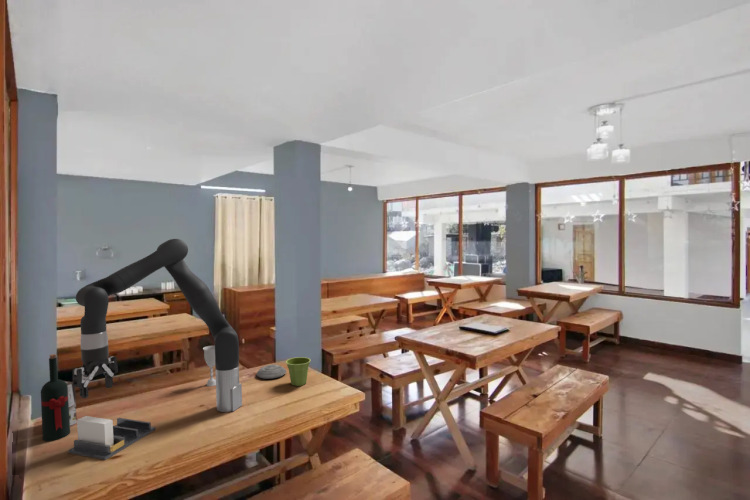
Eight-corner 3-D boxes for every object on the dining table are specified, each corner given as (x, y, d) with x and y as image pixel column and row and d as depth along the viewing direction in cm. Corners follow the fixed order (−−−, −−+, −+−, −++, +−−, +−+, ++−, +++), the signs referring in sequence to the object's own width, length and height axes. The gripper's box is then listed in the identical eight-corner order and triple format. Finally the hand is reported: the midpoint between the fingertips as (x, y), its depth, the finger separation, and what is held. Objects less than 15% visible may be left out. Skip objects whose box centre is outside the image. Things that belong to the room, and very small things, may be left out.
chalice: (222, 382, 191) (221, 346, 191) (211, 387, 185) (210, 350, 184) (212, 380, 194) (210, 345, 194) (200, 385, 188) (199, 348, 188)
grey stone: (261, 370, 209) (261, 360, 209) (289, 370, 208) (289, 360, 208) (252, 380, 194) (251, 370, 194) (282, 381, 194) (281, 370, 193)
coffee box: (77, 422, 152) (75, 382, 152) (59, 430, 146) (57, 388, 146) (62, 419, 155) (60, 379, 155) (43, 427, 149) (41, 385, 149)
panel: (113, 445, 133) (112, 419, 133) (105, 450, 130) (104, 424, 130) (86, 441, 137) (85, 415, 136) (78, 445, 134) (77, 419, 133)
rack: (155, 429, 146) (155, 420, 146) (105, 460, 127) (105, 449, 127) (121, 424, 150) (121, 415, 150) (68, 453, 131) (68, 442, 131)
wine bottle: (45, 446, 136) (41, 361, 134) (41, 436, 142) (36, 355, 141) (73, 437, 141) (69, 355, 140) (68, 428, 148) (64, 350, 147)
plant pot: (316, 382, 190) (315, 360, 189) (296, 390, 181) (295, 366, 181) (301, 377, 198) (300, 355, 197) (281, 384, 189) (280, 361, 188)
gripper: (82, 352, 124) (85, 402, 125) (122, 340, 137) (124, 385, 138) (64, 351, 126) (67, 400, 127) (105, 339, 139) (108, 383, 140)
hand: (97, 392), depth 132 cm, fingers open, 8 cm apart
